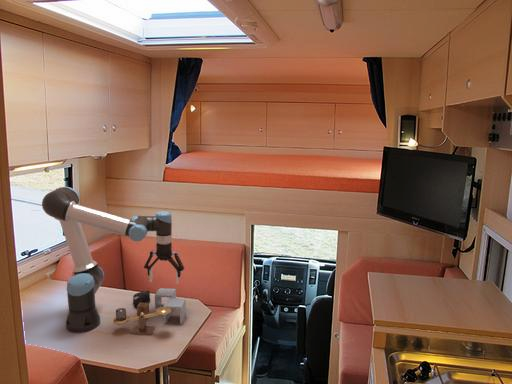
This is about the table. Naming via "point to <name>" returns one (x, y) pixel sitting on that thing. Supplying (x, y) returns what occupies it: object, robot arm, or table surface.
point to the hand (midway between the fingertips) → (164, 282)
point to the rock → (141, 298)
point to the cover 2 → (176, 304)
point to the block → (143, 308)
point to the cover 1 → (164, 293)
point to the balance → (140, 320)
